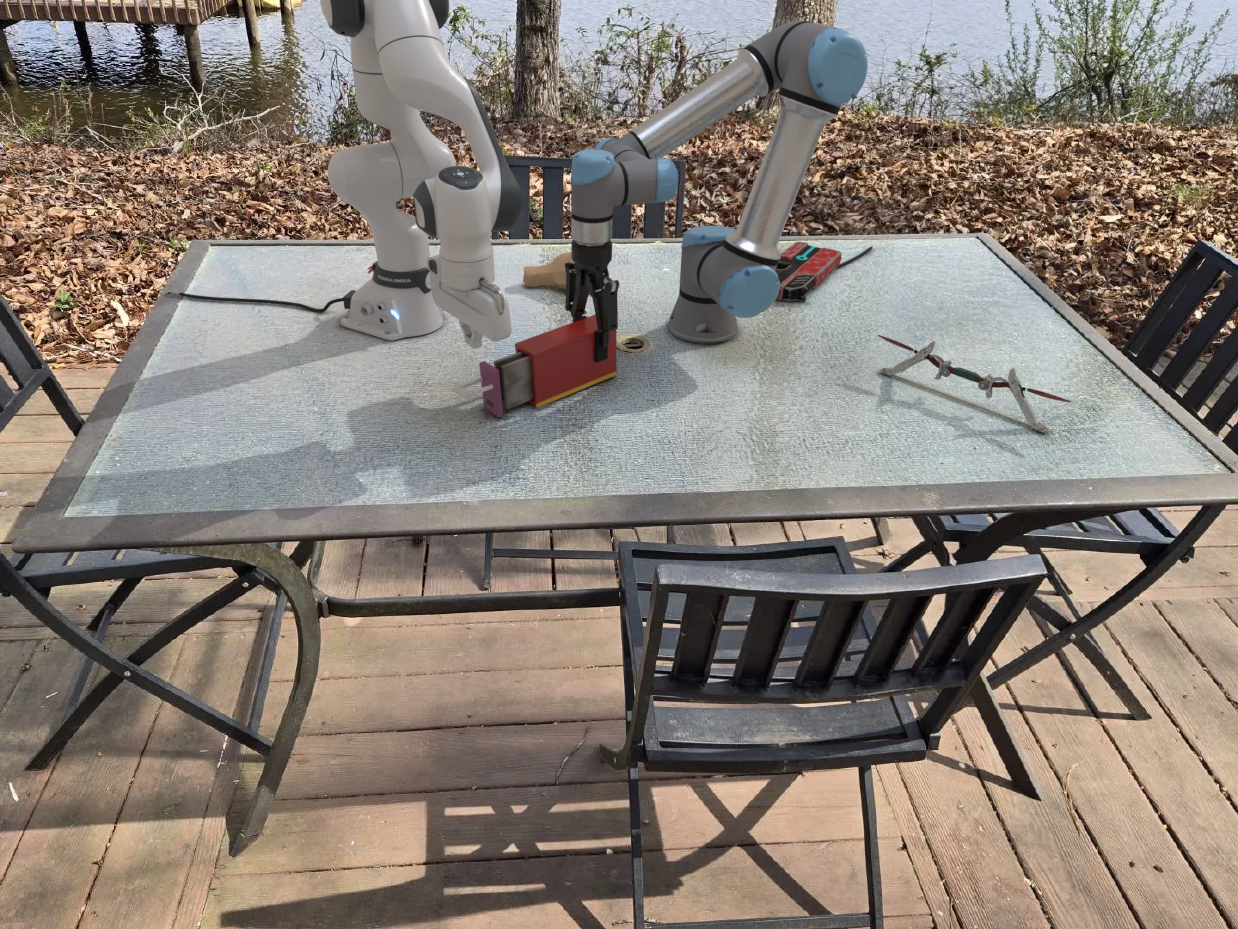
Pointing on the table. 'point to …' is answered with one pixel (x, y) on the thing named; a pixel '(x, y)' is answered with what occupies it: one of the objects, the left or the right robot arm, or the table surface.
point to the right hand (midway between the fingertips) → (590, 353)
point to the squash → (548, 273)
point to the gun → (804, 269)
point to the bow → (983, 384)
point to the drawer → (502, 383)
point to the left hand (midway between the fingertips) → (473, 345)
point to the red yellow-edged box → (567, 360)
